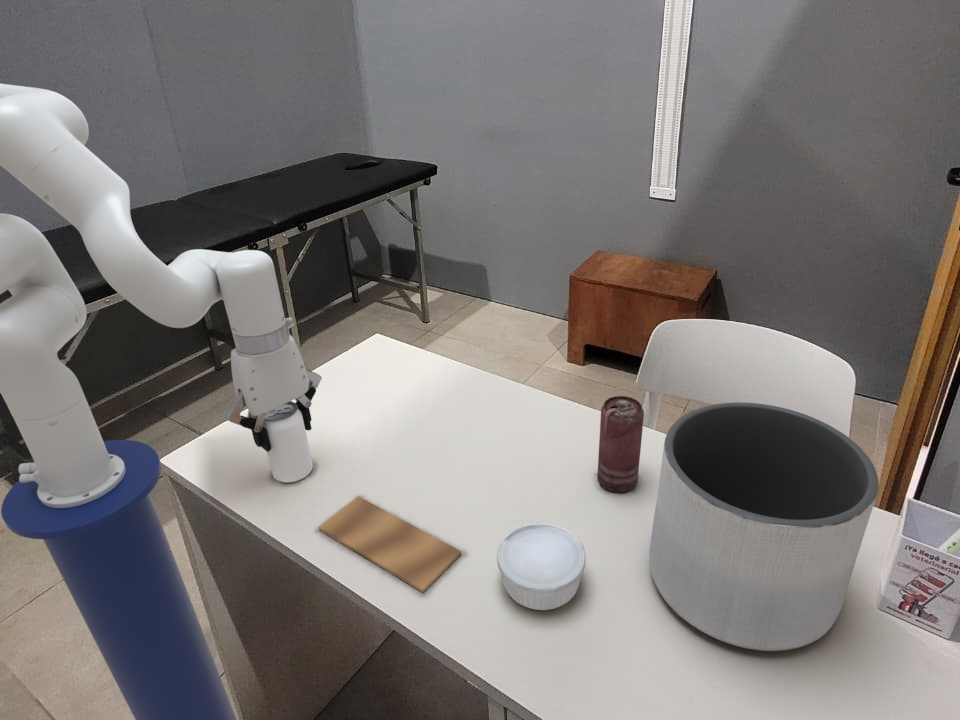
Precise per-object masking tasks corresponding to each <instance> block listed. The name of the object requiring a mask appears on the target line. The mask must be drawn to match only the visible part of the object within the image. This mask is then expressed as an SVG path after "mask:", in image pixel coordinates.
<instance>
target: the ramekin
mask: <svg viewBox="0 0 960 720" xmlns="http://www.w3.org/2000/svg"><path fill="white" fill-rule="evenodd" d="M586 559H587V557H586V550H585V547H584V545H583V544H582V542H581V540H580V539H579V538H578V537H577V536H576V535H575V534H574V533H573V532H571V531H570V530H568V529H566V528H564V527H562V526H559V525H556V524H552V523H546V522H545V523H543V522H534V523H533V522H532V523H528V524H523V525H520V526H518V527H515V528H514V529H512V530H511V531H509V532H508V533H507V534H505V536H504V537H502V539H501V541H500V543H499V544H498V547H497V551H496V563H497V568H498V570H499V572H500V575H501V580H502V583H503V586H504V588H505V590H506V592H507V594H508V595H509V596H510V597H511V598H512V600H514V601H515V603H518V604H519V605H520V606H523V607H524V608H528V609H530V610H535V611H550V610H554V609H558V608H560V607H562V606H564V605H566V604H567V603H568V602H570V601H571V600H572V599H573V598H574V596H575V595H576V593H577V591H578V589H579V586H580V582H581V579H582V576H583V573H584V571H585V569H586V562H587V560H586Z"/></svg>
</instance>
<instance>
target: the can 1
mask: <svg viewBox="0 0 960 720" xmlns="http://www.w3.org/2000/svg"><path fill="white" fill-rule="evenodd" d="M263 427H264V428H265V429H266V430H267V433H268V437H269V441H270V445H271V450H270V451H268V452H267V451H266V455H267V458H268V459H267V460H268V463H269V468H270V470H271V474H272V476H273V478H274V480H276V481H278V482H280V483H284V484H292V483H293V484H294V483H296V482H300V481H301V480H304V479H306V478H307V477H308V476H309V475H310V474H311V472H312V470H313V466H314V465H313V464H314V463H313V459H312V454H311V449H310V445H309V440H308V435H307V430H305V426H304V421H303V417H302V413H301V412H300V410H299V409H298V407H297V405H296V402H294V401H293V400H292V401H290V402H288V403H286V404H284V405H282V406H279V407H277V408H275V409H273V410H271V411H269V412H267V413H265V417H264V422H263Z"/></svg>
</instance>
